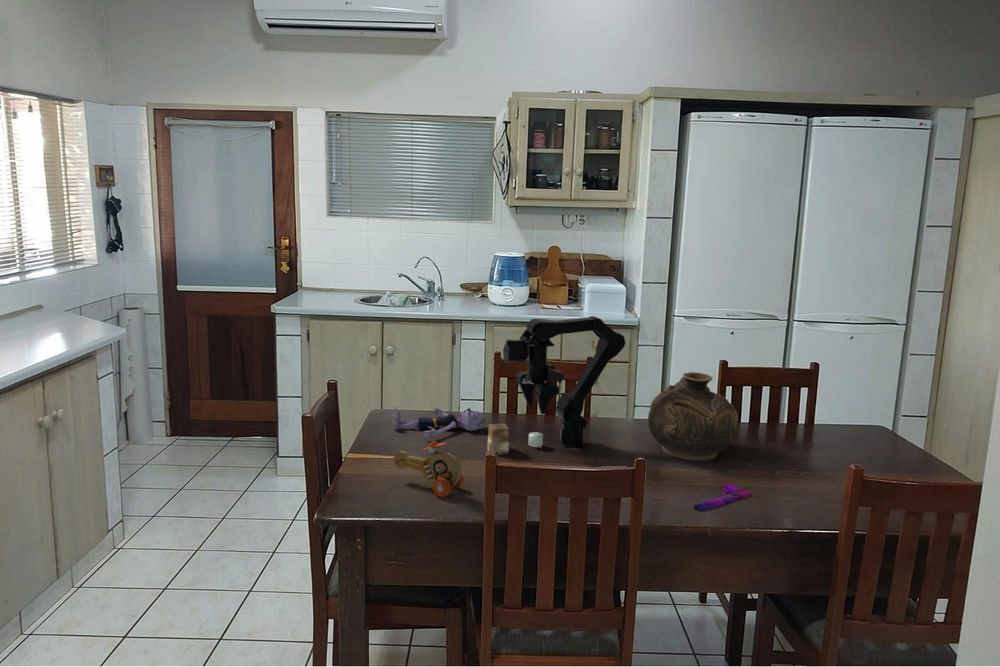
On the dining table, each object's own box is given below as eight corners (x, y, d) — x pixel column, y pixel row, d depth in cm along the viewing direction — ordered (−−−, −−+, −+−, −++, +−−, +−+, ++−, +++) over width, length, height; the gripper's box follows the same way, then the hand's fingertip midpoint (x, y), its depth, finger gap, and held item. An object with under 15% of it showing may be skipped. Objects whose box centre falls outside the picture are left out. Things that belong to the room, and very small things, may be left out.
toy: (399, 398, 261) (485, 391, 260) (402, 423, 263) (488, 417, 261) (386, 421, 235) (482, 414, 234) (390, 449, 237) (485, 442, 236)
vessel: (682, 430, 253) (692, 359, 247) (752, 460, 231) (765, 383, 226) (625, 444, 237) (634, 368, 231) (695, 478, 215) (707, 395, 210)
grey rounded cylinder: (541, 444, 237) (542, 432, 236) (543, 449, 232) (543, 436, 232) (527, 444, 236) (528, 432, 236) (529, 449, 232) (529, 436, 231)
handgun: (728, 488, 208) (729, 481, 208) (752, 497, 202) (752, 490, 201) (676, 503, 197) (677, 496, 196) (699, 513, 190) (700, 506, 190)
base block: (506, 448, 233) (507, 435, 232) (508, 455, 227) (508, 442, 226) (487, 448, 232) (487, 435, 232) (488, 454, 226) (488, 442, 226)
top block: (504, 435, 232) (504, 423, 231) (508, 441, 227) (508, 428, 226) (488, 436, 231) (488, 424, 230) (492, 442, 226) (492, 429, 225)
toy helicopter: (450, 500, 193) (451, 449, 190) (385, 483, 202) (385, 434, 200) (467, 489, 200) (468, 440, 197) (403, 473, 210) (403, 426, 207)
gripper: (575, 365, 224) (573, 415, 227) (547, 352, 241) (546, 399, 244) (541, 368, 219) (540, 419, 222) (515, 354, 236) (514, 402, 239)
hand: (536, 409), depth 232 cm, fingers open, 9 cm apart
